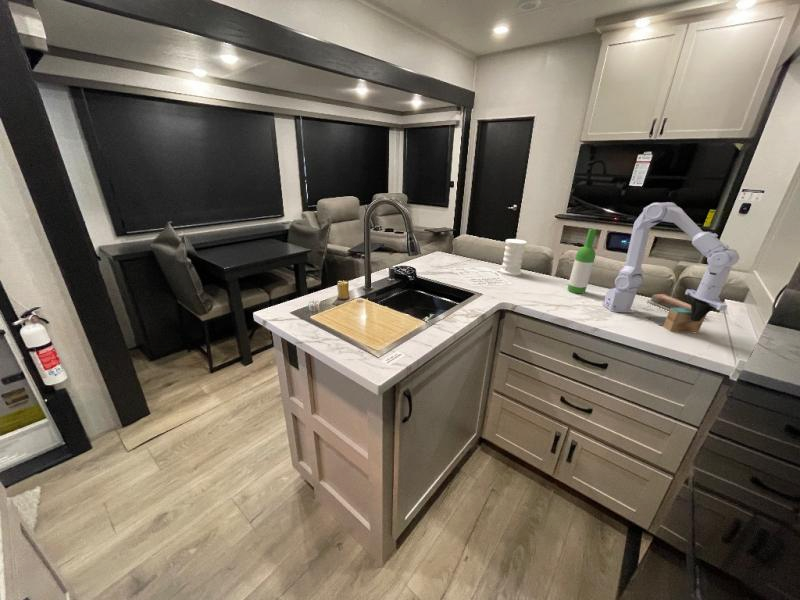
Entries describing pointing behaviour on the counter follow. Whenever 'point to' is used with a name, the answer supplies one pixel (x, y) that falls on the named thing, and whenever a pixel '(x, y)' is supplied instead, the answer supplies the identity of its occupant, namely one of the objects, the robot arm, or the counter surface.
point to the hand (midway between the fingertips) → (695, 320)
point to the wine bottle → (582, 265)
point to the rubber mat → (657, 320)
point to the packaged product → (667, 302)
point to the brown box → (682, 321)
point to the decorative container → (513, 257)
